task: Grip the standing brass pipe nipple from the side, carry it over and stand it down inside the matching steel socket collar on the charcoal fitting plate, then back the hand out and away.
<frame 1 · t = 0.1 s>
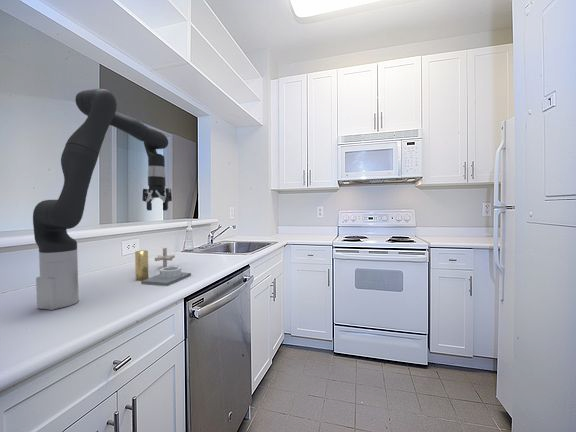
hand: (157, 210, 128), 29 cm above the counter, tool pointing down, fingers open, 8 cm apart
pipe nipple: (142, 279, 115), on the counter
fitting plate: (167, 279, 114), on the counter
pipe connector: (165, 268, 137), on the counter
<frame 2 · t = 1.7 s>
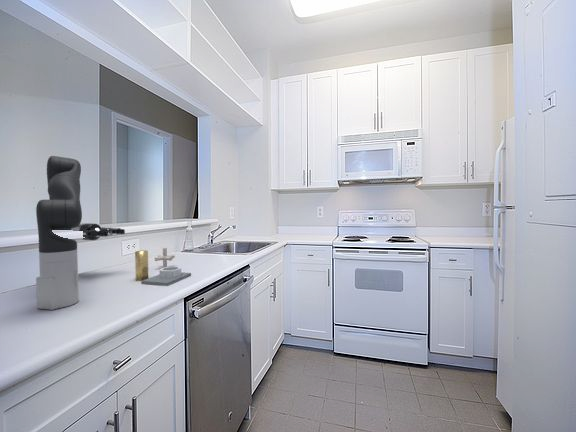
hand: (116, 232, 117), 20 cm above the counter, tool horizontal, fingers open, 8 cm apart
nothing on the counter moved.
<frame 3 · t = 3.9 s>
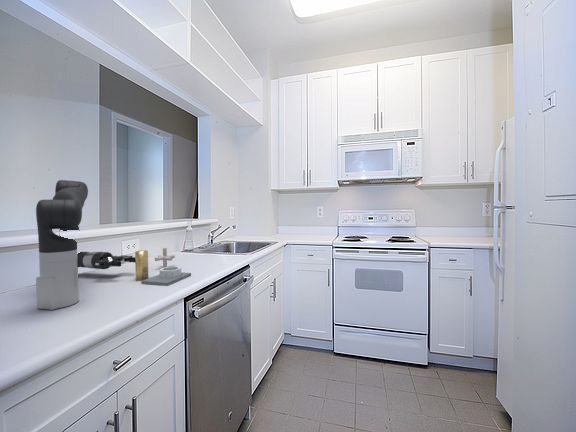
hand: (128, 261, 116), 7 cm above the counter, tool horizontal, fingers open, 8 cm apart
nothing on the counter moved.
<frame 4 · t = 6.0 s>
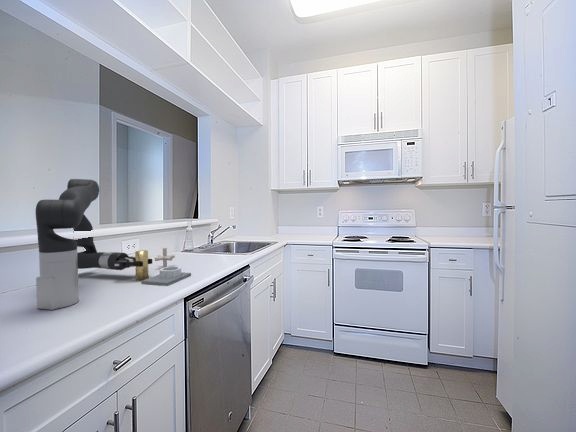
hand: (147, 262, 114), 7 cm above the counter, tool horizontal, fingers closed on pipe nipple, 4 cm apart
pipe nipple: (142, 279, 115), on the counter, touching gripper
everything else where it was.
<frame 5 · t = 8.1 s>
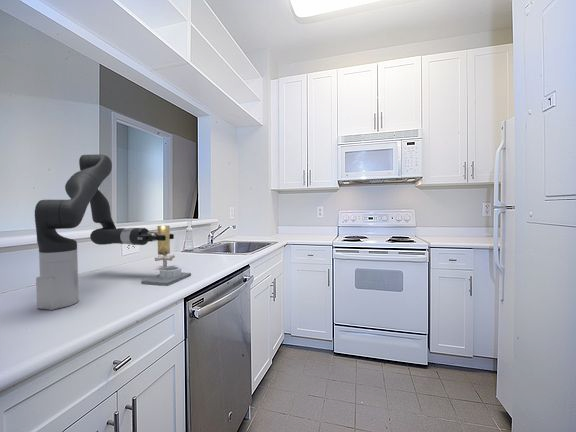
hand: (169, 237, 115), 18 cm above the counter, tool horizontal, fingers closed on pipe nipple, 4 cm apart
pipe nipple: (163, 253, 116), point 11 cm above the counter, touching gripper
everything else where it was.
when the fingers open (10 cm above the counter, at t = 10.0 s): pipe nipple drops 1 cm, resting on fitting plate.
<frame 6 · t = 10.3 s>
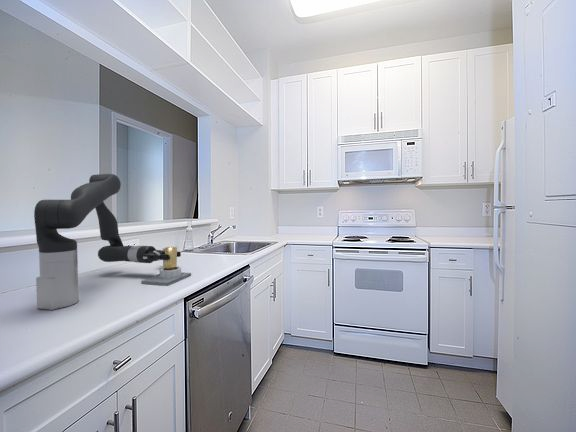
hand: (174, 255, 116), 10 cm above the counter, tool horizontal, fingers open, 7 cm apart
pipe nipple: (170, 275, 116), point 1 cm above the counter, touching fitting plate
everything else where it was.
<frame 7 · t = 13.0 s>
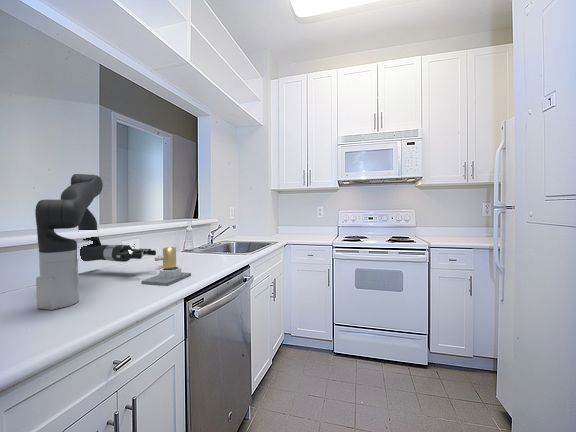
hand: (148, 254, 119), 10 cm above the counter, tool horizontal, fingers open, 8 cm apart
nothing on the counter moved.
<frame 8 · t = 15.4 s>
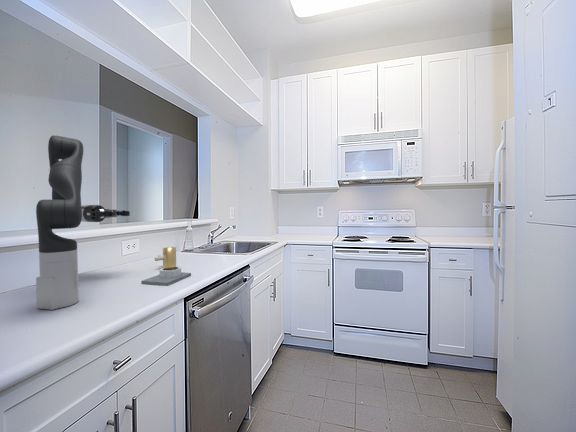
hand: (121, 213, 115), 28 cm above the counter, tool horizontal, fingers open, 8 cm apart
nothing on the counter moved.
at the end: pipe nipple 0.1 cm from the target spot on the fitting plate, point 1.2 cm above the fitting plate's base; pipe nipple tilted 0°; the gripper is holding nothing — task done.
